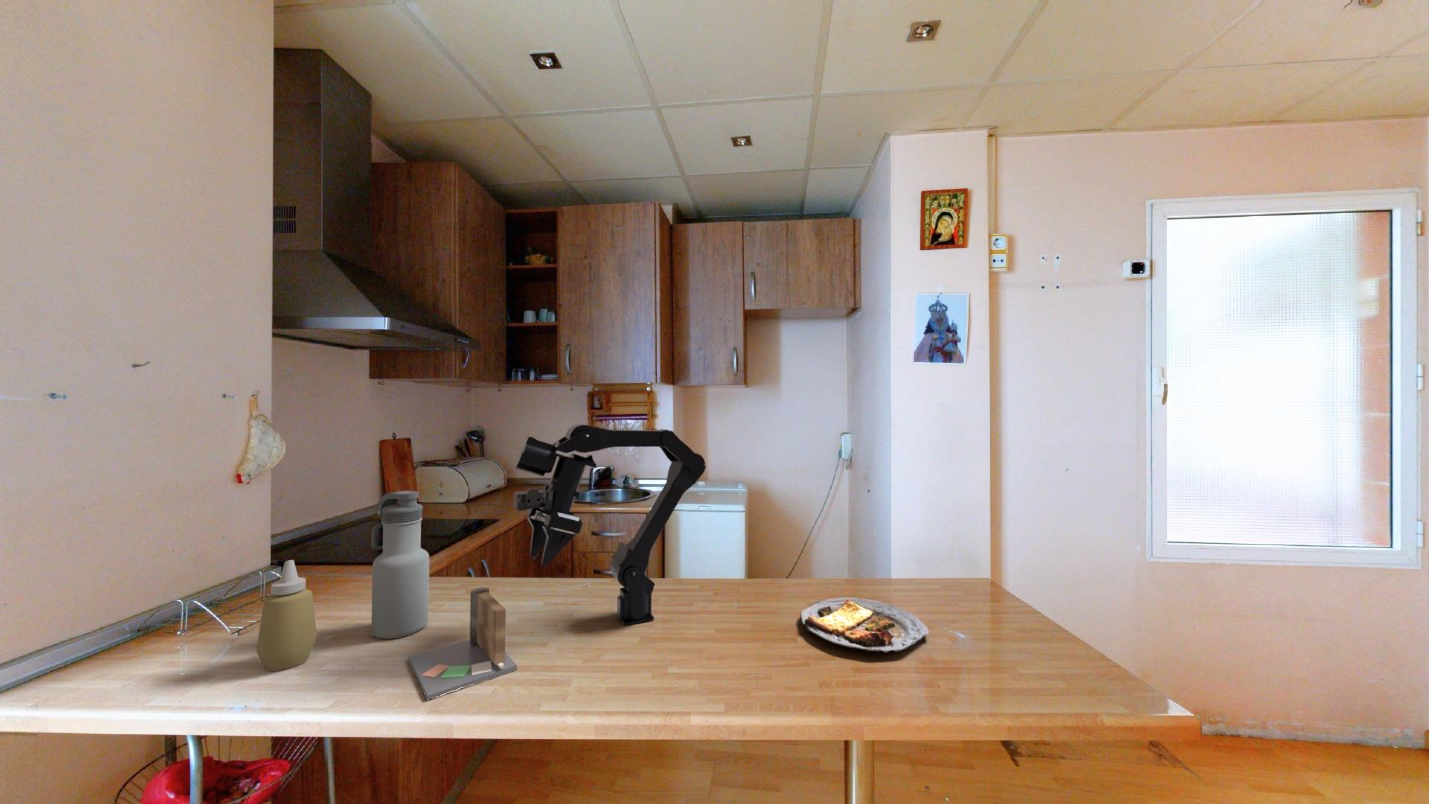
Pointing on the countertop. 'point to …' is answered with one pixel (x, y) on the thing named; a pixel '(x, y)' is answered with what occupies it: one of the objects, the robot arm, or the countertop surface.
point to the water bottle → (399, 568)
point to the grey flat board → (455, 667)
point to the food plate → (846, 614)
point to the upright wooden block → (488, 625)
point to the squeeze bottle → (287, 622)
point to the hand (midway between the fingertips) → (538, 560)
